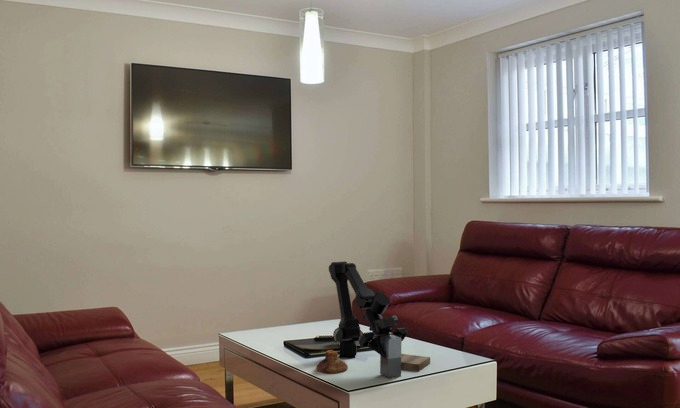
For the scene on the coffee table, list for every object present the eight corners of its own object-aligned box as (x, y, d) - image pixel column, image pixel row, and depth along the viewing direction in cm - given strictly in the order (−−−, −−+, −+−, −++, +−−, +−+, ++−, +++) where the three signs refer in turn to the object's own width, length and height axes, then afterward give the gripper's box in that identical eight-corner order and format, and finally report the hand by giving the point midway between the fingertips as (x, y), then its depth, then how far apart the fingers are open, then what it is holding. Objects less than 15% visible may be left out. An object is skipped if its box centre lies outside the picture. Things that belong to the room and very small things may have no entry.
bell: (315, 366, 243) (315, 347, 243) (346, 365, 244) (346, 347, 244) (316, 374, 231) (316, 355, 231) (349, 373, 232) (348, 354, 232)
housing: (380, 374, 230) (380, 336, 229) (392, 372, 232) (393, 334, 232) (388, 378, 225) (388, 339, 224) (401, 376, 228) (401, 338, 227)
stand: (389, 367, 240) (389, 360, 240) (401, 360, 250) (401, 353, 250) (419, 371, 234) (419, 364, 234) (430, 363, 245) (430, 357, 245)
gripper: (362, 311, 228) (379, 347, 218) (404, 306, 237) (422, 341, 227) (352, 328, 234) (367, 364, 225) (393, 323, 243) (410, 358, 234)
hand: (392, 356), depth 227 cm, fingers closed on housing, 5 cm apart
